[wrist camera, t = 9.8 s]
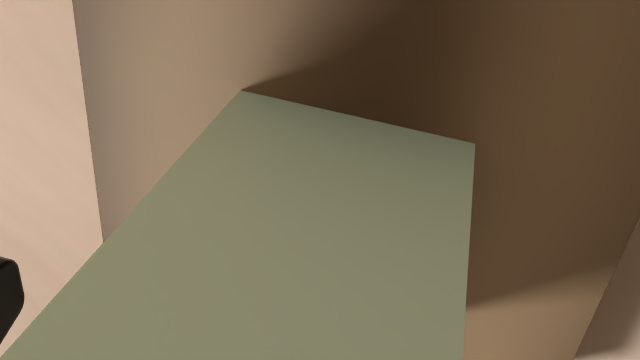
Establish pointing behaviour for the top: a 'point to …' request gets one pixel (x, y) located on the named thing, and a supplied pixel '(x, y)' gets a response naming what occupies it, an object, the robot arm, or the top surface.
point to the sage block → (280, 249)
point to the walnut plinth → (407, 123)
